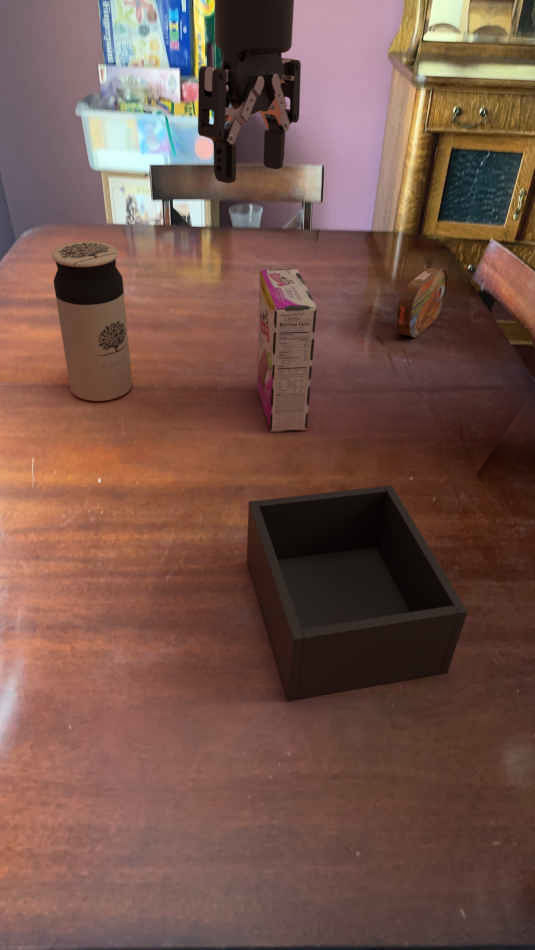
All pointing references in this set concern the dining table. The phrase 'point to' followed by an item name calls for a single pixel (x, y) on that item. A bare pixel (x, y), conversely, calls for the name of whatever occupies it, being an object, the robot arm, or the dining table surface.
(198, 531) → the dining table surface
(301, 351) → the candy bar box
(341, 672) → the basket
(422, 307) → the tin
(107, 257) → the travel mug
